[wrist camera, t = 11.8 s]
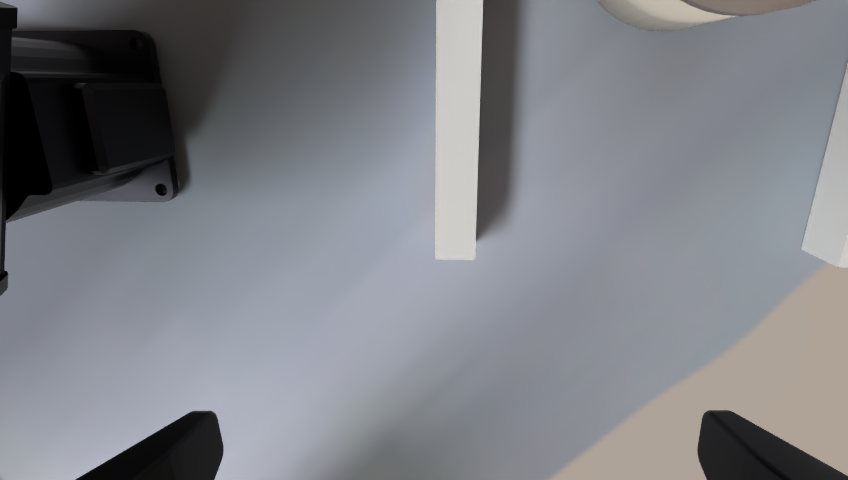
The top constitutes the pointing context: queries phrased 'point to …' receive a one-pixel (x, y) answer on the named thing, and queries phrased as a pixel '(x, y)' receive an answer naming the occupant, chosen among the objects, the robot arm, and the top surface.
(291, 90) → the top surface
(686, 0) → the jar
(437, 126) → the lane
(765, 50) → the top surface
